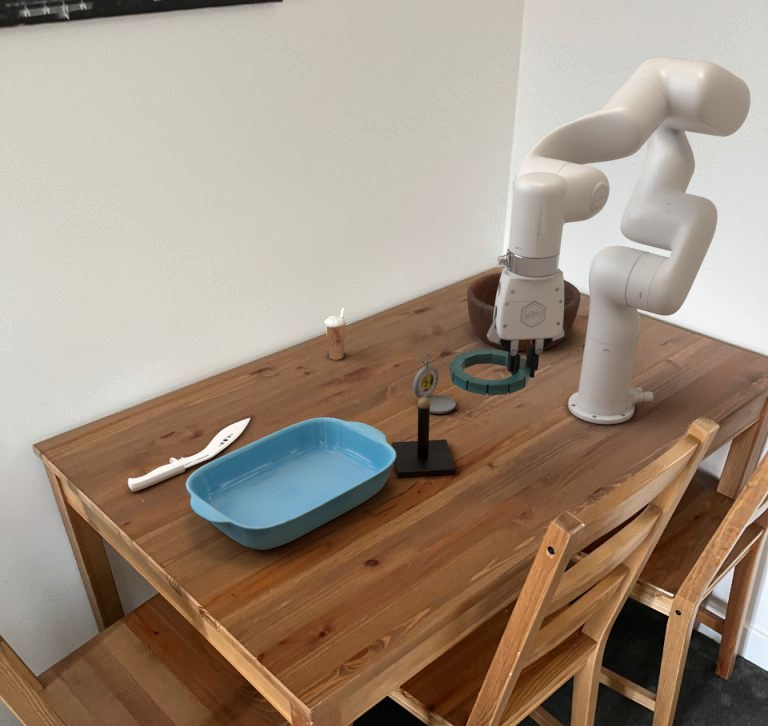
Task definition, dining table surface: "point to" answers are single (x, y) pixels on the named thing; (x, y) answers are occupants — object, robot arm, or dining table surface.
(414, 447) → the stand
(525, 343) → the wooden bowl
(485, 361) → the ring
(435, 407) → the pocket watch
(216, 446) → the knife
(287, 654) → the dining table surface
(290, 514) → the casserole dish
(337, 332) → the milkshake
